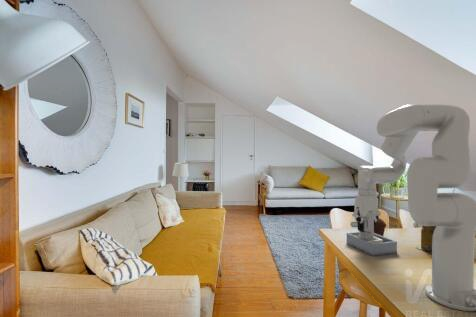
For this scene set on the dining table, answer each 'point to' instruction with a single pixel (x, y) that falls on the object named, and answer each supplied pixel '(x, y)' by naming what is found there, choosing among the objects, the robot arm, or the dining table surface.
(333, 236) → the dining table surface
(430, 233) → the condiment
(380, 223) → the muffin
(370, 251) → the walled box
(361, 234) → the energy drink can
